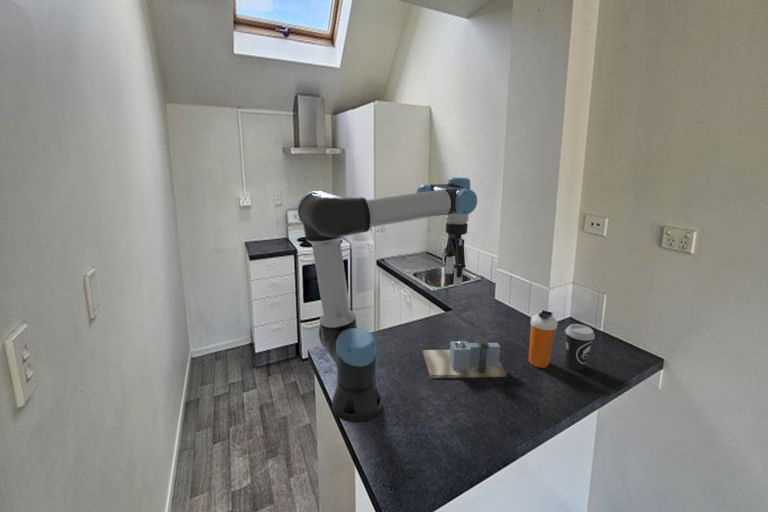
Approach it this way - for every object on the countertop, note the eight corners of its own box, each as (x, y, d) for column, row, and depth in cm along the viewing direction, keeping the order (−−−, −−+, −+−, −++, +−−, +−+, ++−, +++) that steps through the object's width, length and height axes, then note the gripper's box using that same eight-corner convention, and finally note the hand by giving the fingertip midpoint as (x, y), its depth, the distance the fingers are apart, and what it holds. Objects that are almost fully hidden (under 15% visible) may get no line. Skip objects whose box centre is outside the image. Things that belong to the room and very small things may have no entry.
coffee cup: (582, 359, 142) (588, 323, 138) (593, 373, 133) (600, 335, 129) (556, 358, 143) (562, 322, 139) (565, 372, 134) (571, 334, 130)
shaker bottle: (524, 365, 138) (530, 315, 132) (527, 354, 145) (533, 306, 140) (550, 371, 134) (557, 320, 128) (552, 360, 141) (559, 311, 136)
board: (430, 378, 129) (430, 375, 129) (423, 352, 145) (423, 350, 145) (506, 376, 130) (506, 373, 130) (490, 351, 147) (491, 349, 146)
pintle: (456, 369, 134) (458, 343, 132) (455, 366, 136) (457, 340, 134) (462, 369, 135) (464, 343, 132) (460, 366, 136) (462, 340, 134)
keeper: (477, 376, 131) (480, 346, 127) (472, 364, 137) (474, 336, 134) (486, 376, 131) (489, 345, 127) (480, 364, 138) (482, 336, 134)
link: (452, 369, 132) (454, 349, 130) (449, 360, 138) (450, 341, 136) (499, 368, 133) (501, 348, 131) (494, 359, 139) (496, 340, 137)
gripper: (439, 216, 143) (437, 268, 149) (454, 229, 119) (450, 291, 125) (458, 216, 143) (455, 268, 149) (477, 229, 119) (472, 291, 125)
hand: (453, 279), depth 137 cm, fingers open, 13 cm apart
